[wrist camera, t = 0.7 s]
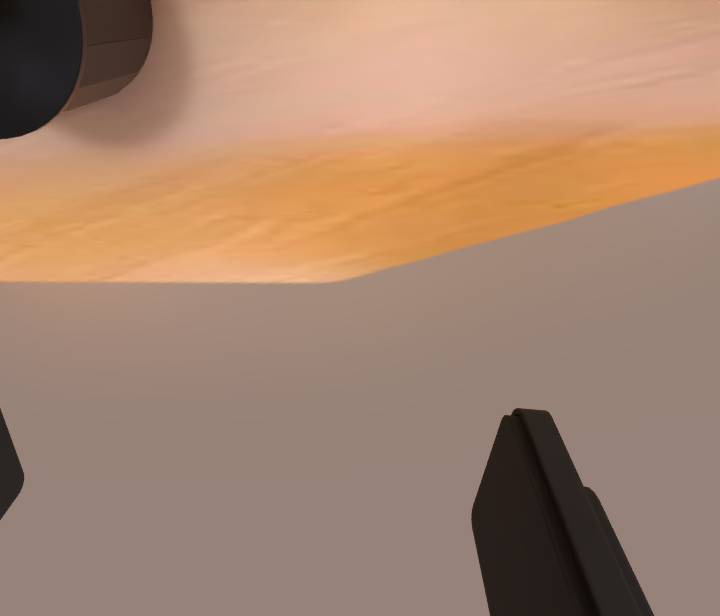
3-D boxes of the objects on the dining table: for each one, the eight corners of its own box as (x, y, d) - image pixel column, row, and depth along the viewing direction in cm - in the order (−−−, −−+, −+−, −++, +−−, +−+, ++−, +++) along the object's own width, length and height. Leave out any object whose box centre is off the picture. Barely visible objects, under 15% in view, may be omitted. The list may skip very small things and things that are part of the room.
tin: (-63, -136, 31) (-243, -195, 22) (145, -99, 31) (55, -141, 22) (-13, 85, 37) (-136, 110, 28) (158, 111, 38) (93, 143, 29)
